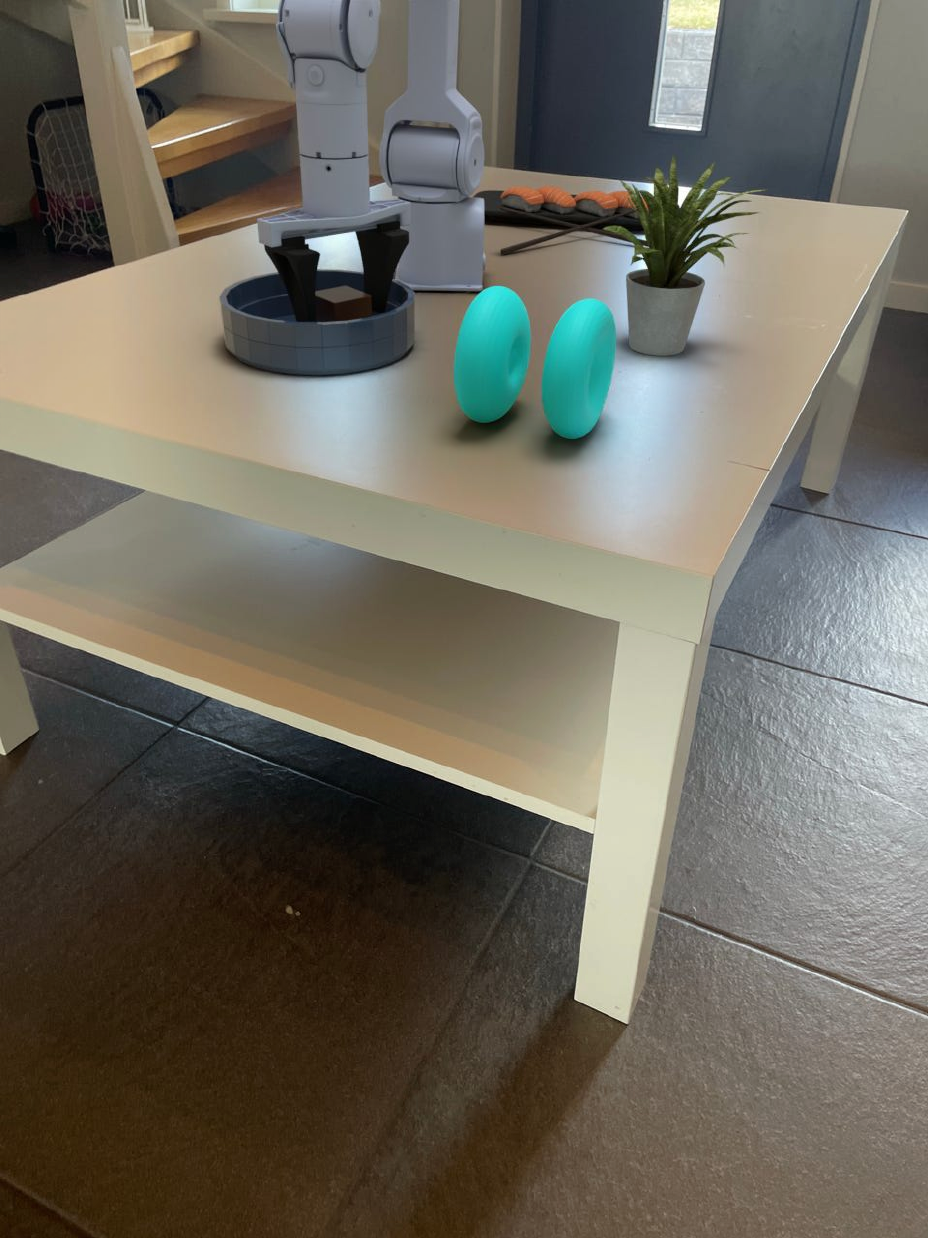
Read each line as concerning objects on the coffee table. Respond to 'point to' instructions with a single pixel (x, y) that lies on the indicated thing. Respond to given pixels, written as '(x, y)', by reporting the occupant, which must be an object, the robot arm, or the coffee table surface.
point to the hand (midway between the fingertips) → (341, 317)
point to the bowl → (313, 328)
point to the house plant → (670, 260)
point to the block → (342, 304)
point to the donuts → (501, 355)
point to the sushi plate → (562, 211)
